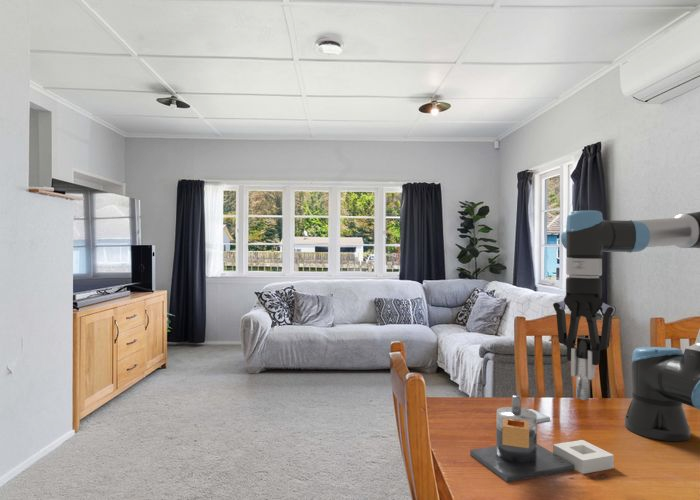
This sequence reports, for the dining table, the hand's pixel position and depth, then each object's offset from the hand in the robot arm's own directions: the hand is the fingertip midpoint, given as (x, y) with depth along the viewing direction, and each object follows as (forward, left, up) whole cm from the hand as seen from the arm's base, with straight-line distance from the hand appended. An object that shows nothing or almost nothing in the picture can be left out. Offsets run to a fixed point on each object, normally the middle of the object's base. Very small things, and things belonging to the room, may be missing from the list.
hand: (582, 376), depth 109 cm
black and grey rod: (0, 0, -5) cm, 5 cm away
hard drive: (-6, -28, -21) cm, 36 cm away
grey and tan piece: (+16, -4, -13) cm, 21 cm away
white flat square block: (0, 0, -20) cm, 20 cm away
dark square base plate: (+14, -5, -20) cm, 25 cm away
